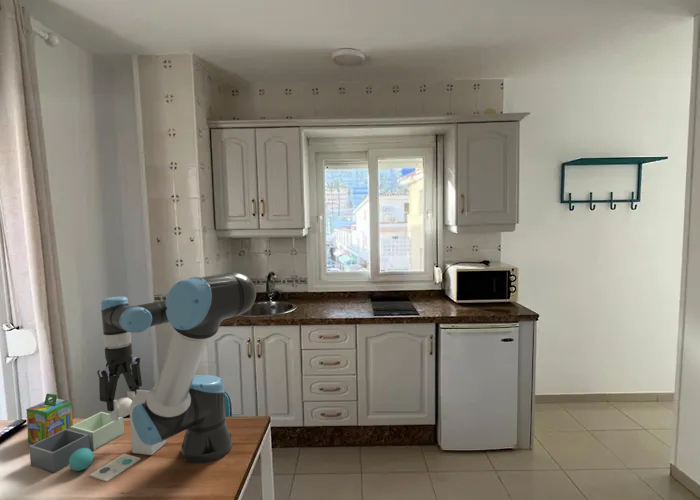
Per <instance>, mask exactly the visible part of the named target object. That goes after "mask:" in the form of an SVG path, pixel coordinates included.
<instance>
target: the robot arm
mask: <svg viewBox="0 0 700 500" xmlns="http://www.w3.org/2000/svg"><path fill="white" fill-rule="evenodd" d="M256 297H257V289H256V286H255V284H254V282H253V281H252V280H251V278H250V277H248V276H247V275H246V274H242V273H239V272H226V273H220V274H213V275H208V276H202V277H199V276H193V277H189V278H187V279H183V280H179V281H177V282H176V283H174V285H172V287H170V289H169V291H168V294H167V295H166V299H163V300H158V301H153V302H147V303H141V304H137V305H130V303H129V299H128V297H127V296H124V295H123V296H112V297H105V298H104V299H102V301H101V303H100V305H101V310H100V312H101V321H102V331H103V332H102V333H103V342H104V343H103V345H104V347H105V348H104V358H105V360H106V364H105V367H104V368H102V369H99V370H97V372H96V373H97V376H98V378H99V379H98V380H99V382H98V383H99V384H98V385H99V387H98V390H99V402H104V403H106V410H107V412H109V414H110V420H113V421H117V420H118V410H117V400H118V399H115V398H116V393H117V387H118V386H117V385H118V381H119V379H120V377H121V375H123V377H124V379H125V382H126V384H127V387H128V389H129V390H127V391H126V393H127V398H130V399H131V400H132V401H133V399H134V397H135V395H136V394H137V392H136V390H140V388H139V387H142V386H143V380H142V375H141V366H140V363H141V357H137V356H136V357H135V356H134V357H132V355H133V346H132V344H131V343H132V334H133V333H136V334H140V333H142V332H145V331H147V329H149V328H151V327H156V326H160V325H163V324H170V325H171V328H172V329H173V330H174V331H173V334H172V337H171V340H170V343H169V347H168V350H167V352H166V355H165V359H164V362H163V365H162V368H161V371H160V374H159V377H158V380H157V383H156V385H155V386H154V387H152V388H151V389H150V390H149V391H150V392H149V393H148V395H147V398H146V401H145V402H144V403H142V404H138V405H137V406H135V407H134V409H133V411H132V419H133V424H134V427H135V430H136V432H137V434H138V436H139V438H140V439H141V441H142V442H143V443H144V444H146V445H149V446H151V445H154V444H157V443H159V442H162V441H164V440H166V441H167V439H169V438H172V437H174V436H177V435H178V434H180V433H181V432H183V431H185V433H184V436H183V441H182V444H181V449H180V450H181V457H182V459H183V460H185V462H188V463H191V464H192V463H193V464H204V463H209V462H213V461H216V460H219V459H221V458H222V457H224V456H226V455H227V454H228V453H229V452H230V451H231V449H232V447H233V437H232V433H230V430H229V427H228V425H227V422H226V400H225V392H226V391H225V390H226V389H225V385H224V381H223V379H222V378H221V377H219V376H216V375H212V374H200V375H196V373H197V371H198V368H199V365H200V363H201V360H202V357H203V354H204V351H205V349H206V346H207V343H208V340H209V339H211V338H213V337H214V336H215V335H216V334H217V333H218V331H219V329H220V326H221V323H222V321H224V320H226V319H231V318H234V317H238V316H240V315H243V314H245V313H246V312H248V311H249V310H250V309H251V308H252V307H253V305H254V303H255V301H256Z"/></svg>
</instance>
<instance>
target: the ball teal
mask: <svg viewBox="0 0 700 500" xmlns="http://www.w3.org/2000/svg"><path fill="white" fill-rule="evenodd" d="M93 460H94V453H93V450H90V449H88V448H80V449H78V450H76V451H75V452H74V453H73V454H72V455H71V456H70V459H69V465H68V466H69V468H71V470H73V471H76V472H77V471H79V472H80V471H84V470H86V469H87V468H89V467H90V466H91V464H92V463H93Z"/></svg>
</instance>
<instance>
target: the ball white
mask: <svg viewBox="0 0 700 500" xmlns="http://www.w3.org/2000/svg"><path fill="white" fill-rule="evenodd" d="M116 400H117V410H118V417H123V418H126V417H127V416H130V410H129V407H130V405H131V403H132V400H131V399H130V398H128V396H127V397H126V396H125V397H124V396H123V397H119V398H118V399H116Z"/></svg>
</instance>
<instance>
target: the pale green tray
mask: <svg viewBox="0 0 700 500" xmlns="http://www.w3.org/2000/svg"><path fill="white" fill-rule="evenodd" d="M124 423H125V422H124V417H118V420H117V421H113V420H110V412H109V413H108V412H104V411H99V412H98V413H95V414H93V415H92V416H90V417H88V418H86V419H84V420H81V421H79V422H77V423H75V424H73V426H71V427H70V430H73V431H77V432H80V433H84V434H88V435H89V446H90V450H91V451H92V452H93V451H96V450H98V449H99V448H101V447H103V446H105V445H107V444H109V443H110V442H112V441H115V439H118V438H119V437H122V436H123V435H125V425H124Z"/></svg>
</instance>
